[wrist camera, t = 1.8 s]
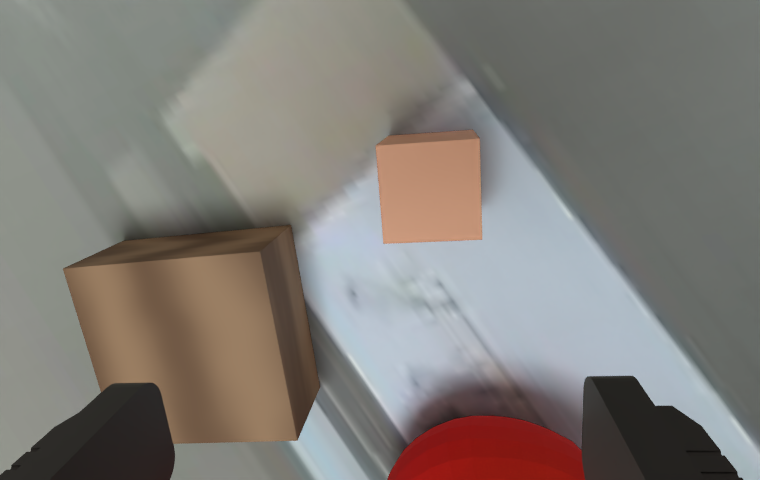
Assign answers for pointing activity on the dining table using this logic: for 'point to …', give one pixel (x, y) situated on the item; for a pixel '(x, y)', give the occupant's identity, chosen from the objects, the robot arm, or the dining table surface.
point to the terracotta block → (430, 187)
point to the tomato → (489, 452)
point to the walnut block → (204, 330)
